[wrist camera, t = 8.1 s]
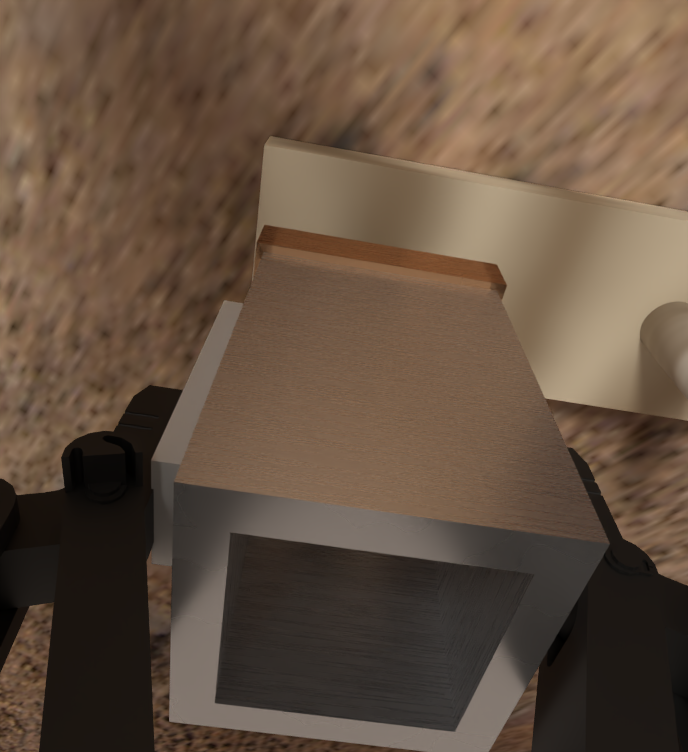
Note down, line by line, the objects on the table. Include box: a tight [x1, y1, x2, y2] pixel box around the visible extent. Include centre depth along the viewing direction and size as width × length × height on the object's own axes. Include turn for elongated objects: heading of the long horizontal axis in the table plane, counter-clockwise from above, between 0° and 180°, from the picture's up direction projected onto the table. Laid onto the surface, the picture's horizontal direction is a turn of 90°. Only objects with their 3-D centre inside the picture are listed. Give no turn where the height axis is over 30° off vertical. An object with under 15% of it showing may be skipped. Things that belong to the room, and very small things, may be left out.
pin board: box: [252, 136, 688, 421], centre depth 21 cm, size 20×8×8 cm, turn 81°
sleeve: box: [169, 225, 610, 752], centre depth 14 cm, size 6×6×10 cm
